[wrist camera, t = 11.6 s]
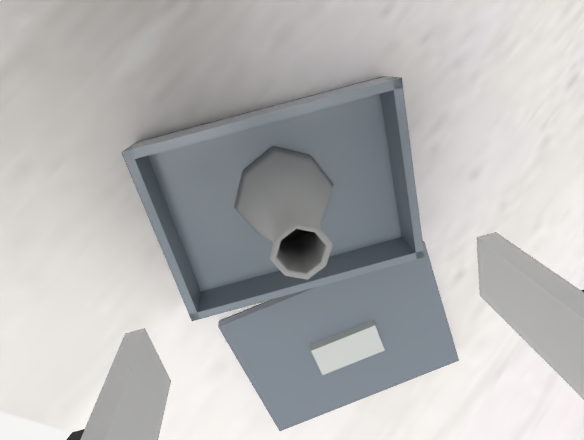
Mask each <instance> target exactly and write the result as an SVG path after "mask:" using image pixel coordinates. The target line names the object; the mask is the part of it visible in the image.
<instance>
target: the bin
mask: <svg viewBox="0 0 584 440" xmlns="http://www.w3.org/2000/svg"><path fill="white" fill-rule="evenodd" d="M273 146H274V147H278V148H282V149H286V150H290V151H294V152H299V153H303V154H307V155H311V156H312V157H313V159H314V160H315V161H316V163H317V164H318V165H319V166H320V168H321V169H322V170H323V171H324V173H325V174H326V175H327V177H328V178H329V179H330V180H331V182H332V183H333V184H334V185H333V188H332V192H331V195H330V198H329V201H328V205H327V208H326V211H325V214H324V218H323V220H322V223H321V230H322V231H323V233H324V234H325V235H326V236H327V237H328V239H329V240H330V241H331V242H332V244H333V246H332V249H331V252H330V256H329V259H328V262H327V265H326V266H325V267H324V268H323V269H321V270H320V271H319V272H317V273H316V274H315V275H313V276H312V277H311V278H309V279H308V280H306V279H300V278H295V277H289V276H285V275H284V274H283V273H282V272H281V271H280V270H279V269H278V268H277V267H276V266H275V265H274V264H273V262H272V261H271V260H270V254H271V251H272V247H273V242H272V241H271V240H269V239H267V238H265V237H263V236H261V235H259V234H258V233H257V232H256V231H255V229H254V228H253V227H252V226H251V225H250V224H249V223H248V222H247V221H246V220H245V219H244V218H243V217H242V215H241V214H240V213H239V212H238V211H237V210H236V209H235V208H234V207H235V202H236V198H237V193H238V189H239V184H240V180H241V176H242V171H243V170H245V169H246V168H247V167H248V166H250V165H251V164H252V163H253V162H254V161H256V160H257V159H258V158H259V157H261V156H262V155H263V154H264V153H265V152H267V151H268V150H269V149H270V148H271V147H273ZM122 155H123V157H124V160H125V162H126V164H127V167H128V169H129V172H130V174H131V176H132V179H133V181H134V184H135V186H136V188H137V191H138V193H139V196H140V198H141V200H142V203H143V205H144V207H145V210H146V212H147V215H148V217H149V219H150V222H151V224H152V227H153V229H154V231H155V234H156V236H157V239H158V241H159V243H160V246H161V248H162V251H163V253H164V255H165V258H166V260H167V263H168V265H169V267H170V270H171V272H172V274H173V277H174V279H175V282H176V284H177V286H178V289H179V291H180V294H181V296H182V298H183V301H184V303H185V306H186V308H187V310H188V313H189V315H190V318H191V320H192V321H194V320H198V319H202V318H205V317H209V316H213V315H216V314H220V313H223V312H227V311H231V310H234V309H238V308H242V307H245V306H249V305H253V304H256V303H260V302H264V301H267V300H271V299H274V298H278V297H282V296H285V295H289V294H293V293H296V292H300V291H304V290H307V289H311V288H315V287H318V286H322V285H325V284H329V283H333V282H336V281H340V280H344V279H347V278H351V277H355V276H358V275H362V274H366V273H369V272H373V271H376V270H380V269H384V268H387V267H391V266H395V265H398V264H402V263H406V262H409V261H413V260H417V259H420V258H424V250H423V242H422V234H421V226H420V218H419V211H418V203H417V195H416V187H415V179H414V171H413V163H412V156H411V148H410V140H409V132H408V124H407V116H406V108H405V101H404V93H403V85H402V78H398V77H380V78H376V79H372V80H368V81H365V82H361V83H357V84H353V85H350V86H346V87H342V88H338V89H335V90H331V91H327V92H323V93H320V94H316V95H312V96H308V97H305V98H301V99H297V100H293V101H290V102H286V103H282V104H278V105H275V106H271V107H267V108H263V109H260V110H256V111H252V112H248V113H245V114H241V115H237V116H233V117H230V118H226V119H222V120H218V121H215V122H211V123H207V124H203V125H200V126H196V127H192V128H188V129H185V130H181V131H177V132H173V133H170V134H166V135H162V136H158V137H155V138H151V139H147V140H143V141H140V142H136V143H134V144H133V145H132V146H130V147H129V148H127V149H126V150H124V151H123V152H122Z"/></svg>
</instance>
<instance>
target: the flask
mask: <svg viewBox="0 0 584 440" xmlns="http://www.w3.org/2000/svg"><path fill="white" fill-rule="evenodd" d="M333 185H334V184H333V183H332V182H331V180H330V179H329V178H328V177H327V175H326V174H325V173H324V171H323V170H322V169H321V168H320V166H319V165H318V164H317V163H316V161H315V160H314V159H313V157H312V156H311V155H307V154H303V153H299V152H294V151H290V150H286V149H282V148H278V147H274V146H273V147H271V148H270V149H269V150H268V151H267V152H265V153H264V154H263V155H262V156H261V157H259V158H258V159H257V160H256V161H254V162H253V163H252V164H251V165H250V166H248V167H247V168H246V169H245V170H243V171H242V176H241V180H240V184H239V189H238V193H237V198H236V202H235V207H234V208H235V209H236V210H237V211H238V212H239V213H240V214H241V215H242V217H243V218H244V219H245V220H246V221H247V222H248V223H249V224H250V225H251V226H252V227H253V228H254V229H255V231H256V232H257V233H258V234H259V235H261V236H263V237H265V238H267V239H269V240H271V241H272V242H273V247H272V251H271V254H270V260H271V261H272V262H273V264H274V265H275V266H276V267H277V268H278V269H279V270H280V271H281V272H282V273H283V274H284V275H285V276H289V277H295V278H300V279H306V280H308V279H309V278H311V277H312V276H313V275H315V274H316V273H317V272H319V271H320V270H321V269H323V268H324V267H325V266H326V265H327V262H328V259H329V256H330V252H331V249H332V246H333V244H332V242H331V241H330V240H329V239H328V237H327V236H326V235H325V234H324V233H323V231H322V230H321V223H322V220H323V218H324V214H325V211H326V208H327V205H328V201H329V198H330V195H331V192H332V188H333Z"/></svg>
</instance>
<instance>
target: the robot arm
mask: <svg viewBox="0 0 584 440" xmlns="http://www.w3.org/2000/svg"><path fill="white" fill-rule="evenodd" d="M477 252H478V271H479V289H480V296H481V297H482V298H483V299H484V300H485V301H486V302H487V303H488V304H489V305H490V306H491V307H492V308H493V309H494V310H495V311H496V312H497V313H498V314H499V315H500V316H501V317H502V318H503V319H504V320H505V321H506V322H507V323H508V324H509V325H510V326H511V327H512V328H513V329H514V330H515V331H516V332H517V333H518V334H519V335H520V336H521V337H522V338H523V339H524V340H525V341H526V342H527V343H528V344H529V345H530V346H531V347H532V348H533V349H534V350H535V351H536V352H537V353H538V354H539V355H540V356H541V357H542V358H543V359H544V360H545V361H546V362H547V363H548V364H549V365H550V366H551V367H552V368H553V369H554V370H555V371H556V372H557V373H558V374H559V375H560V376H561V377H562V378H563V379H564V380H565V381H566V382H567V383H568V384H569V385H570V386H571V387H572V388H573V389H574V390H575V391H576V392H577V393H578V394H579V395H580V396H581V397H582V398H583V399H584V290H579V289H578V288H576V287H575V286H573V285H572V284H570V283H569V282H568V281H566V280H565V279H563V278H562V277H560V276H559V275H557V274H556V273H554V272H553V271H552V270H550V269H549V268H547V267H546V266H544V265H543V264H541V263H540V262H538V261H537V260H536V259H534V258H533V257H531V256H530V255H528V254H527V253H525V252H524V251H522V250H521V249H520V248H518V247H517V246H515V245H514V244H512V243H511V242H509V241H508V240H506V239H505V238H504V237H502V236H501V235H499V234H498V233H496V232H495V233H491V234H487V235H484V236H480V237H477ZM170 383H171V380H170V378H169V376H168V374H167V372H166V370H165V368H164V366H163V364H162V362H161V360H160V358H159V356H158V354H157V352H156V350H155V348H154V346H153V344H152V342H151V340H150V338H149V336H148V334H147V332H146V330H145V328H144V329H140V330H137V331H133V332H130V333H126V334H125V335H124V338H123V340H122V343H121V345H120V347H119V350H118V352H117V354H116V357H115V359H114V361H113V364H112V366H111V368H110V371H109V373H108V376H107V378H106V380H105V383H104V385H103V387H102V390H101V392H100V394H99V397H98V399H97V402H96V404H95V406H94V409H93V411H92V413H91V416H90V418H89V420H88V423H87V425H86V428H85V429H83V430H80V431H76V432H73V433H71V435H70V436H69V437H68V439H67V440H158V437H159V433H160V428H161V423H162V419H163V414H164V410H165V405H166V401H167V396H168V392H169V387H170Z"/></svg>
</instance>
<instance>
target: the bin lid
mask: <svg viewBox="0 0 584 440" xmlns="http://www.w3.org/2000/svg"><path fill="white" fill-rule="evenodd" d="M422 242H423V241H422ZM423 250H424V258H420V259H417V260H413V261H409V262H406V263H402V264H398V265H395V266H391V267H387V268H384V269H380V270H376V271H373V272H369V273H366V274H362V275H358V276H355V277H351V278H347V279H344V280H340V281H336V282H333V283H329V284H325V285H322V286H318V287H315V288H311V289H307V290H304V291H300V292H296V293H293V294H289V295H285V296H282V297H278V298H275V299H272V300H270V301H267V302H265V303H262V304H260V305H258V306H255V307H253V308H250V309H248V310H245V311H243V312H240V313H238V314H236V315H233V316H231V317H228V318H226V319H223V320H221V321H219V329H220V330H221V332H222V334H223V336H224V337H225V339H226V341H227V342H228V344H229V346H230V347H231V349H232V351H233V353H234V354H235V356H236V358H237V359H238V361H239V363H240V364H241V366H242V368H243V370H244V371H245V373H246V375H247V376H248V378H249V380H250V381H251V383H252V385H253V387H254V388H255V390H256V392H257V393H258V395H259V397H260V398H261V400H262V402H263V404H264V405H265V407H266V409H267V410H268V412H269V414H270V415H271V417H272V419H273V421H274V422H275V424H276V426H277V427H278V429H279V431H282V430H284V429H287V428H289V427H292V426H294V425H297V424H299V423H302V422H304V421H307V420H310V419H312V418H315V417H317V416H320V415H322V414H325V413H327V412H330V411H332V410H335V409H337V408H340V407H342V406H345V405H347V404H350V403H353V402H355V401H358V400H360V399H363V398H365V397H368V396H370V395H373V394H375V393H378V392H380V391H383V390H385V389H388V388H391V387H393V386H396V385H398V384H401V383H403V382H406V381H408V380H411V379H413V378H416V377H418V376H421V375H423V374H426V373H428V372H431V371H434V370H436V369H439V368H441V367H444V366H446V365H449V364H451V363H454V362H456V361H459V359H458V356H457V352H456V349H455V345H454V342H453V339H452V335H451V332H450V328H449V325H448V321H447V318H446V315H445V311H444V308H443V304H442V301H441V297H440V294H439V291H438V287H437V284H436V280H435V277H434V274H433V270H432V267H431V263H430V260H429V256H428V253H427V250H426V246H425V243H424V242H423Z"/></svg>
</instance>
